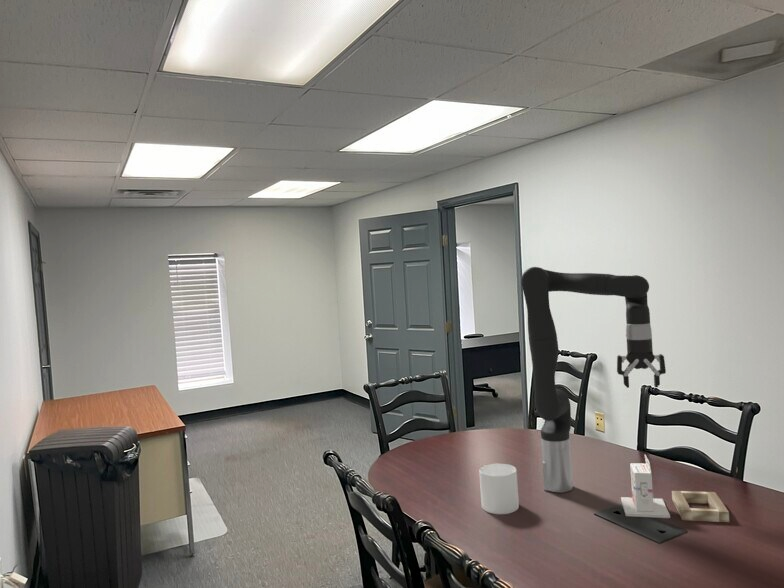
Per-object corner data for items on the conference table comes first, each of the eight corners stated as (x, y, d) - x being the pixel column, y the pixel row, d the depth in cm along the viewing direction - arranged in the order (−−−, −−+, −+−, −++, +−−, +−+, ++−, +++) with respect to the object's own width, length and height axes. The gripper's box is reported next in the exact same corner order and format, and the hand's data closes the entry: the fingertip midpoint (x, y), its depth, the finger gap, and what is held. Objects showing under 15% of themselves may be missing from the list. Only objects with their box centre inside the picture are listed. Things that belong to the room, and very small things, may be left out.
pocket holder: (682, 520, 162) (681, 509, 162) (672, 500, 176) (671, 490, 175) (729, 522, 159) (728, 511, 159) (715, 501, 172) (714, 492, 172)
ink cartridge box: (631, 499, 176) (628, 453, 176) (648, 500, 175) (645, 453, 174) (636, 511, 168) (633, 462, 167) (654, 512, 167) (651, 463, 166)
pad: (625, 516, 167) (625, 513, 167) (621, 499, 179) (620, 497, 179) (670, 518, 164) (670, 515, 164) (662, 501, 175) (662, 498, 175)
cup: (520, 500, 184) (518, 464, 183) (516, 515, 173) (514, 477, 172) (484, 498, 188) (482, 462, 187) (478, 513, 177) (476, 475, 176)
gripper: (616, 339, 180) (619, 389, 181) (665, 338, 176) (668, 389, 177) (614, 336, 188) (617, 384, 188) (661, 334, 184) (663, 384, 184)
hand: (641, 387), depth 183 cm, fingers open, 8 cm apart
